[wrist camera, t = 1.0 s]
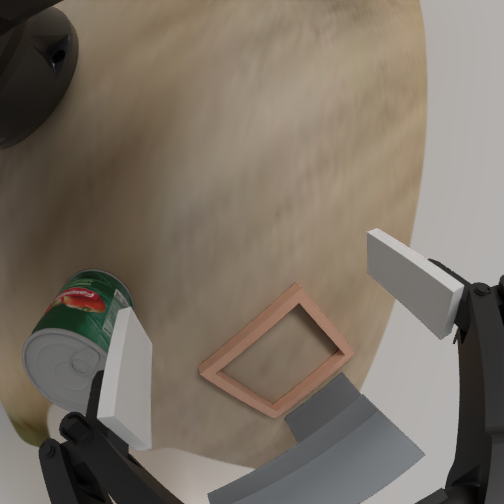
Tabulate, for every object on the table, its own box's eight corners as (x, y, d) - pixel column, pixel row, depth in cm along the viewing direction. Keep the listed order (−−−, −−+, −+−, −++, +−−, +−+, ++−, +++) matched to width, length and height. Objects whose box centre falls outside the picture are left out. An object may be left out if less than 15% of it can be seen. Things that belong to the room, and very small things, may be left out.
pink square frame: (198, 366, 29) (199, 374, 28) (295, 282, 30) (301, 287, 28) (271, 411, 35) (274, 419, 34) (349, 347, 35) (355, 353, 34)
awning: (181, 352, 28) (212, 511, 11) (264, 279, 28) (377, 410, 12) (288, 419, 37) (342, 513, 20) (349, 370, 37) (425, 454, 20)
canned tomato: (106, 350, 26) (90, 428, 16) (50, 304, 23) (8, 370, 13) (151, 305, 26) (146, 382, 16) (91, 251, 23) (48, 306, 13)
